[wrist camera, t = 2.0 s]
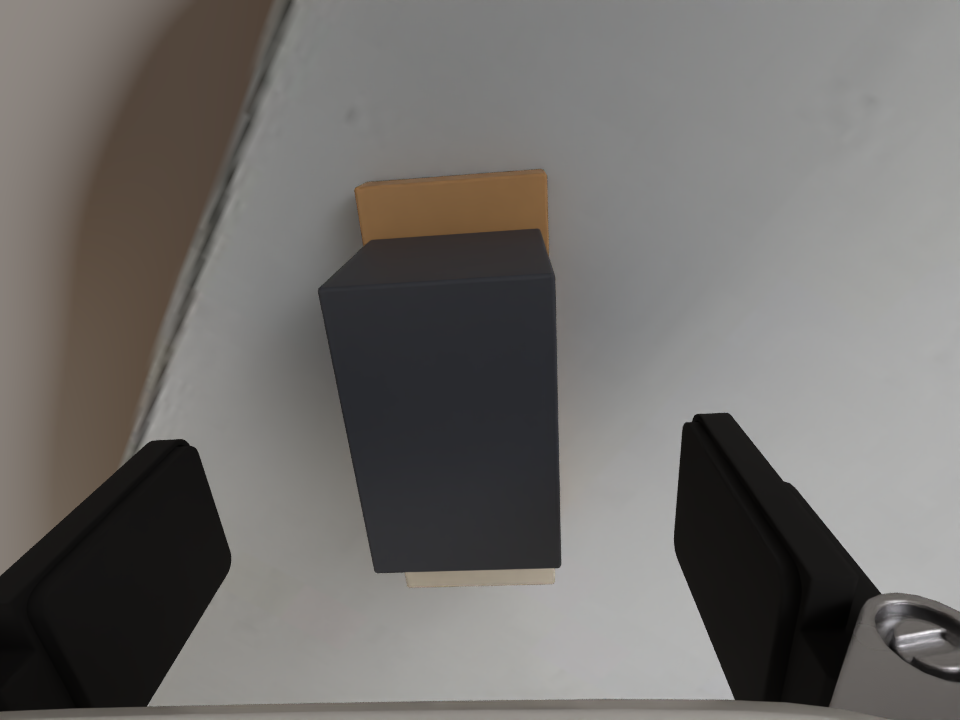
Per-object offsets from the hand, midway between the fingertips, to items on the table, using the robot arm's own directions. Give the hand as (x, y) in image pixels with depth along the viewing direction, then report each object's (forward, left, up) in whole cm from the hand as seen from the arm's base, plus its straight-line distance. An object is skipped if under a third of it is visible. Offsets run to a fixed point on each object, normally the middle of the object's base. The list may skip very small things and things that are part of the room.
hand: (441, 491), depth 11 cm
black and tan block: (0, 0, -7) cm, 7 cm away
